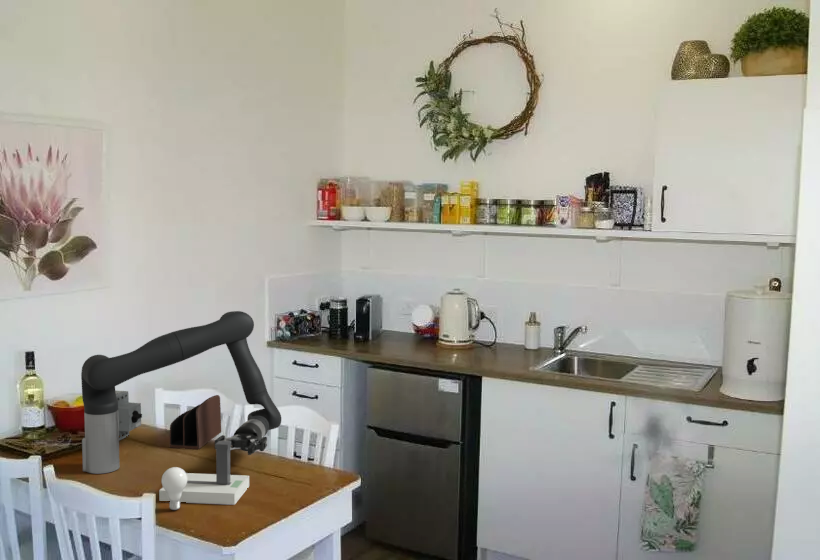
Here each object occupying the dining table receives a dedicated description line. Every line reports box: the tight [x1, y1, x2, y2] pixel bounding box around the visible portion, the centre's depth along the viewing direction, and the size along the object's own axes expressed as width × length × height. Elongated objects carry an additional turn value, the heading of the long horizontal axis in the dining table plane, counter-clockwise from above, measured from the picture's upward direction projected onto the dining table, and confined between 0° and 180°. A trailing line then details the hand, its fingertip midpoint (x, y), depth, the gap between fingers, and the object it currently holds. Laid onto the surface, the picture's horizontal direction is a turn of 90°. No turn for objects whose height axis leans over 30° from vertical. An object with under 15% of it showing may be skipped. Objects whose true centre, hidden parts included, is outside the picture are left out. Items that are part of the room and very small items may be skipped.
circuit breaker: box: [115, 389, 143, 441], centre depth 269 cm, size 8×14×15 cm, turn 78°
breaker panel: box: [158, 472, 250, 506], centre depth 220 cm, size 20×14×3 cm
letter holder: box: [169, 394, 222, 450], centre depth 268 cm, size 10×20×14 cm, turn 172°
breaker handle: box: [214, 441, 232, 484], centre depth 219 cm, size 3×3×11 cm
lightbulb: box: [161, 466, 188, 511], centre depth 208 cm, size 6×6×11 cm
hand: (233, 451), depth 228 cm, fingers open, 8 cm apart
